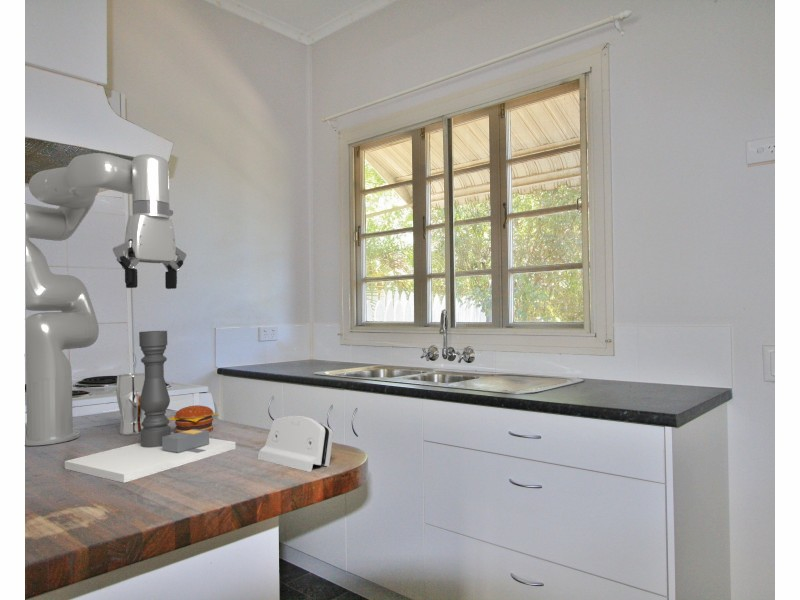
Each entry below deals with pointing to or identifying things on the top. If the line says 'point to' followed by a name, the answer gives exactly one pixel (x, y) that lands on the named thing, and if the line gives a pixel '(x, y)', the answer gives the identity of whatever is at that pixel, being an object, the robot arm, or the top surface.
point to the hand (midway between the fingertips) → (152, 288)
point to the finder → (185, 440)
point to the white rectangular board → (142, 460)
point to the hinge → (298, 443)
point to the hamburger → (194, 418)
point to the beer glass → (130, 402)
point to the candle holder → (154, 389)
